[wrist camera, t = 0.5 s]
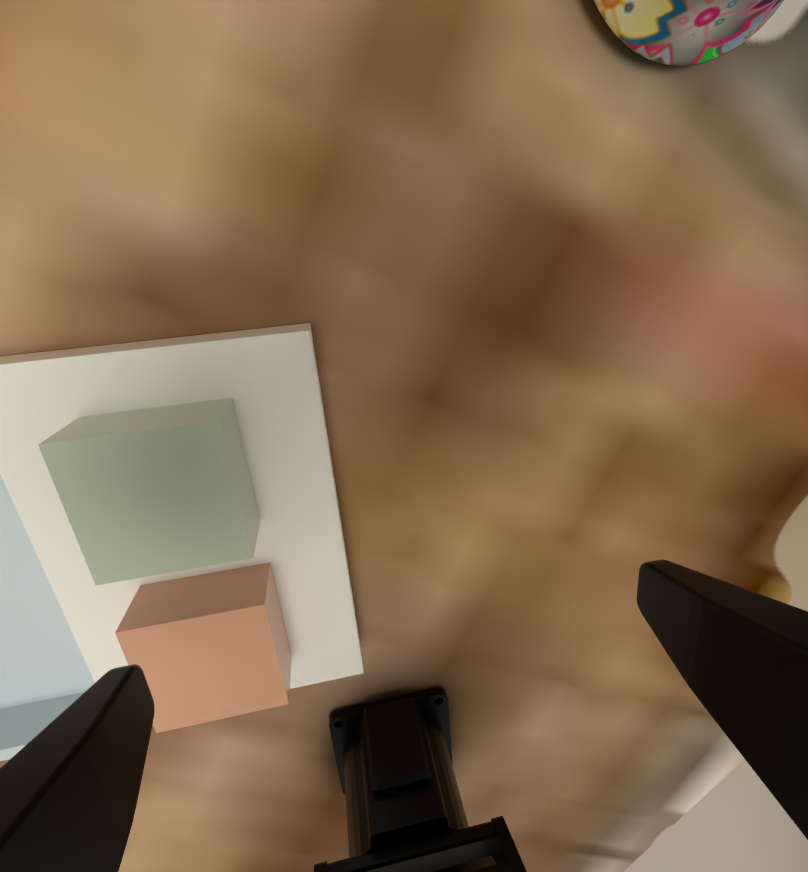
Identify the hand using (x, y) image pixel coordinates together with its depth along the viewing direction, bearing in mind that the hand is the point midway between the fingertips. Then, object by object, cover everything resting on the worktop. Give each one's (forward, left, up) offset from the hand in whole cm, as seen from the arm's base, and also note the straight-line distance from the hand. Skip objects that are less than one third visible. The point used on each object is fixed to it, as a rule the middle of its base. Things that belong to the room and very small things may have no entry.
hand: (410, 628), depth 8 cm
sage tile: (-1, +7, -10) cm, 12 cm away
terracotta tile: (-8, +7, -10) cm, 14 cm away
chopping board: (-4, +7, -12) cm, 14 cm away
